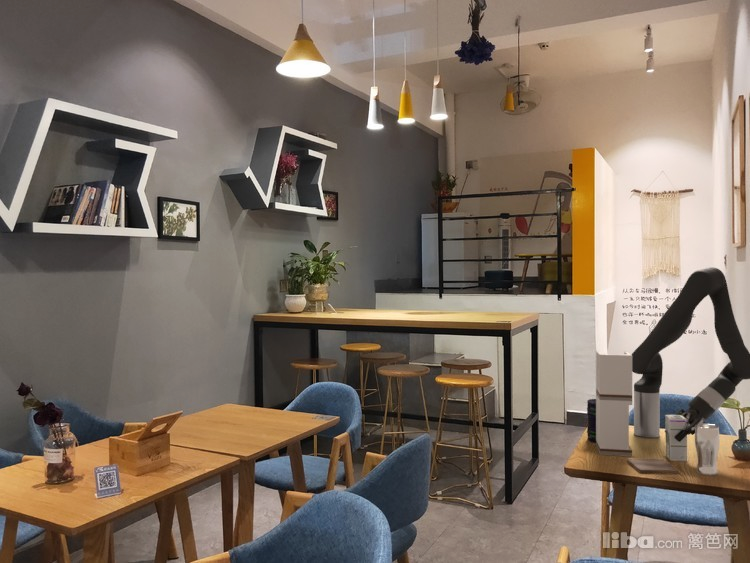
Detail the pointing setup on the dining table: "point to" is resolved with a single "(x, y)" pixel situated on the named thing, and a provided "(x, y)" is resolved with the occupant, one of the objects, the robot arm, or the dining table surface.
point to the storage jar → (591, 420)
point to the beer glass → (707, 448)
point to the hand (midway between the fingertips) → (671, 436)
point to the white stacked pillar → (613, 403)
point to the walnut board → (652, 466)
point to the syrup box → (674, 447)
